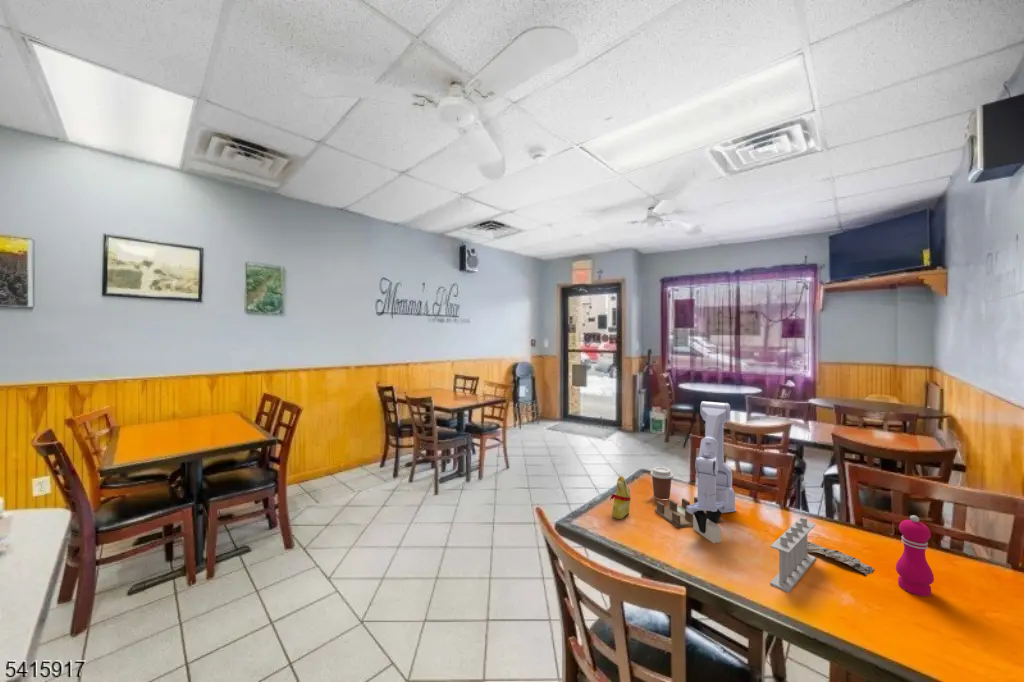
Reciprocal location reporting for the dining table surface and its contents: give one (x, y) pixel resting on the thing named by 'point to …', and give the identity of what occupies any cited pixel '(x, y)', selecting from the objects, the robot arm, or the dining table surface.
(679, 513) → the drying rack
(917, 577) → the pepper mill
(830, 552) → the stone fragment
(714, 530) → the cream rectangular block
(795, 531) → the test tube rack
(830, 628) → the dining table surface
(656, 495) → the coffee cup
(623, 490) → the chocolate bunny
